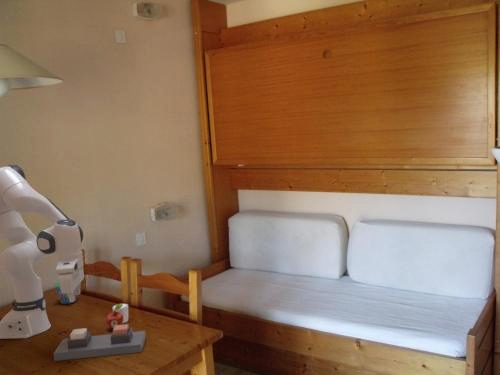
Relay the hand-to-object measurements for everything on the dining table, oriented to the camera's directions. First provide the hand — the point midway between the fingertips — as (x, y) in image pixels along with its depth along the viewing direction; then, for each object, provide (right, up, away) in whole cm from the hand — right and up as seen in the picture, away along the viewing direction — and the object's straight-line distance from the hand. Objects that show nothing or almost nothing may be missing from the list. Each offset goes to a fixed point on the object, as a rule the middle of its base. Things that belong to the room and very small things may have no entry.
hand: (75, 297), depth 190 cm
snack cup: (-25, -16, +62) cm, 69 cm away
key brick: (+17, -15, +3) cm, 23 cm away
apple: (+10, -18, +23) cm, 31 cm away
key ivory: (+1, -16, +2) cm, 16 cm away
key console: (+9, -20, +3) cm, 23 cm away
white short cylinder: (+10, -17, +31) cm, 37 cm away
